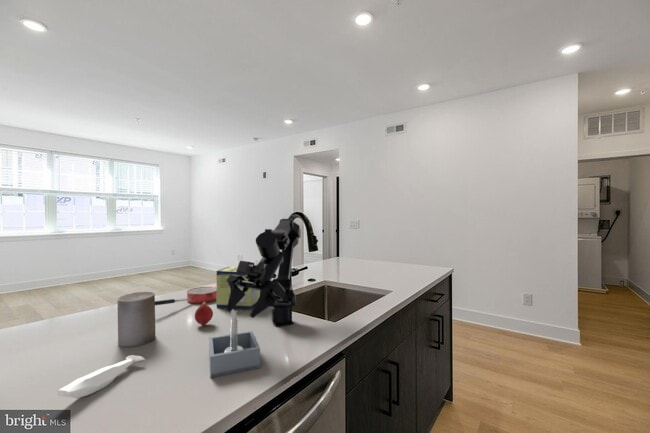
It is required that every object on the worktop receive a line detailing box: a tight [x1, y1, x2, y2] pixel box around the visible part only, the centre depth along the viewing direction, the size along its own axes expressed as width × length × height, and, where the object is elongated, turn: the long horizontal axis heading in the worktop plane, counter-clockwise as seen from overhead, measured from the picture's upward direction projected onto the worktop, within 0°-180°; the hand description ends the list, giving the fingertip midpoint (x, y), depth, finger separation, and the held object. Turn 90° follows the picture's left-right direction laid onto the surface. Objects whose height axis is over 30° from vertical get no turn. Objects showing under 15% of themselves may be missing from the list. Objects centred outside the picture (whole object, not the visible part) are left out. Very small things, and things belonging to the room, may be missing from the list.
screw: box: [224, 309, 243, 353], centre depth 76 cm, size 13×5×5 cm
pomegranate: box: [194, 302, 214, 327], centre depth 100 cm, size 6×6×8 cm
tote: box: [208, 330, 261, 379], centre depth 76 cm, size 12×12×5 cm
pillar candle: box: [116, 291, 156, 348], centre depth 88 cm, size 10×10×15 cm
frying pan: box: [155, 286, 217, 306], centre depth 122 cm, size 32×13×6 cm, turn 166°
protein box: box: [216, 266, 260, 311], centre depth 123 cm, size 10×16×16 cm
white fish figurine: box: [56, 354, 146, 399], centre depth 65 cm, size 6×18×4 cm, turn 170°
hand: (239, 313), depth 77 cm, fingers open, 9 cm apart
